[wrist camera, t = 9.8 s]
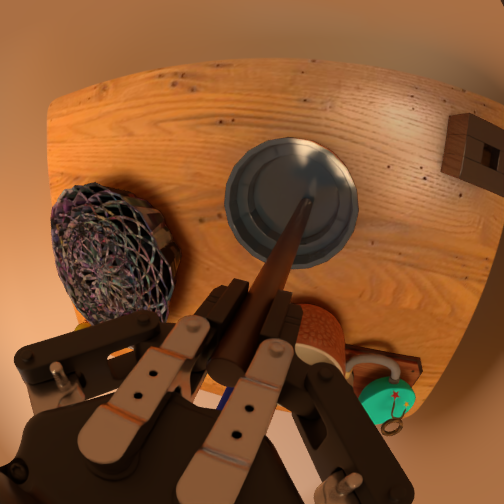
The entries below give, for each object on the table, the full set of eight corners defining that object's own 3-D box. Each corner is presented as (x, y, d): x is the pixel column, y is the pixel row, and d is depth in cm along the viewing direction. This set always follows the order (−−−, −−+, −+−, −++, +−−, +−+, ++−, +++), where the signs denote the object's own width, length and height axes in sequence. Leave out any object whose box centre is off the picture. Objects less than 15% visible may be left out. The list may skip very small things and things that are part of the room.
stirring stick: (300, 196, 32) (205, 352, 9) (313, 199, 32) (249, 366, 9) (298, 209, 33) (205, 380, 10) (311, 212, 33) (244, 392, 10)
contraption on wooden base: (333, 327, 40) (326, 408, 27) (435, 347, 37) (455, 421, 23) (309, 386, 46) (294, 458, 33) (398, 401, 42) (402, 469, 29)
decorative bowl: (210, 185, 39) (175, 194, 30) (197, 343, 48) (171, 378, 39) (85, 169, 44) (44, 176, 35) (91, 301, 54) (60, 322, 44)
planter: (363, 320, 38) (366, 374, 29) (314, 368, 44) (305, 420, 34) (292, 276, 39) (276, 323, 29) (251, 332, 44) (228, 380, 35)
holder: (449, 115, 25) (469, 112, 20) (493, 135, 24) (517, 137, 18) (440, 171, 28) (458, 178, 23) (484, 188, 27) (506, 198, 21)
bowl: (248, 131, 33) (231, 129, 28) (363, 151, 30) (370, 153, 25) (236, 236, 39) (219, 253, 34) (340, 260, 36) (340, 281, 31)
